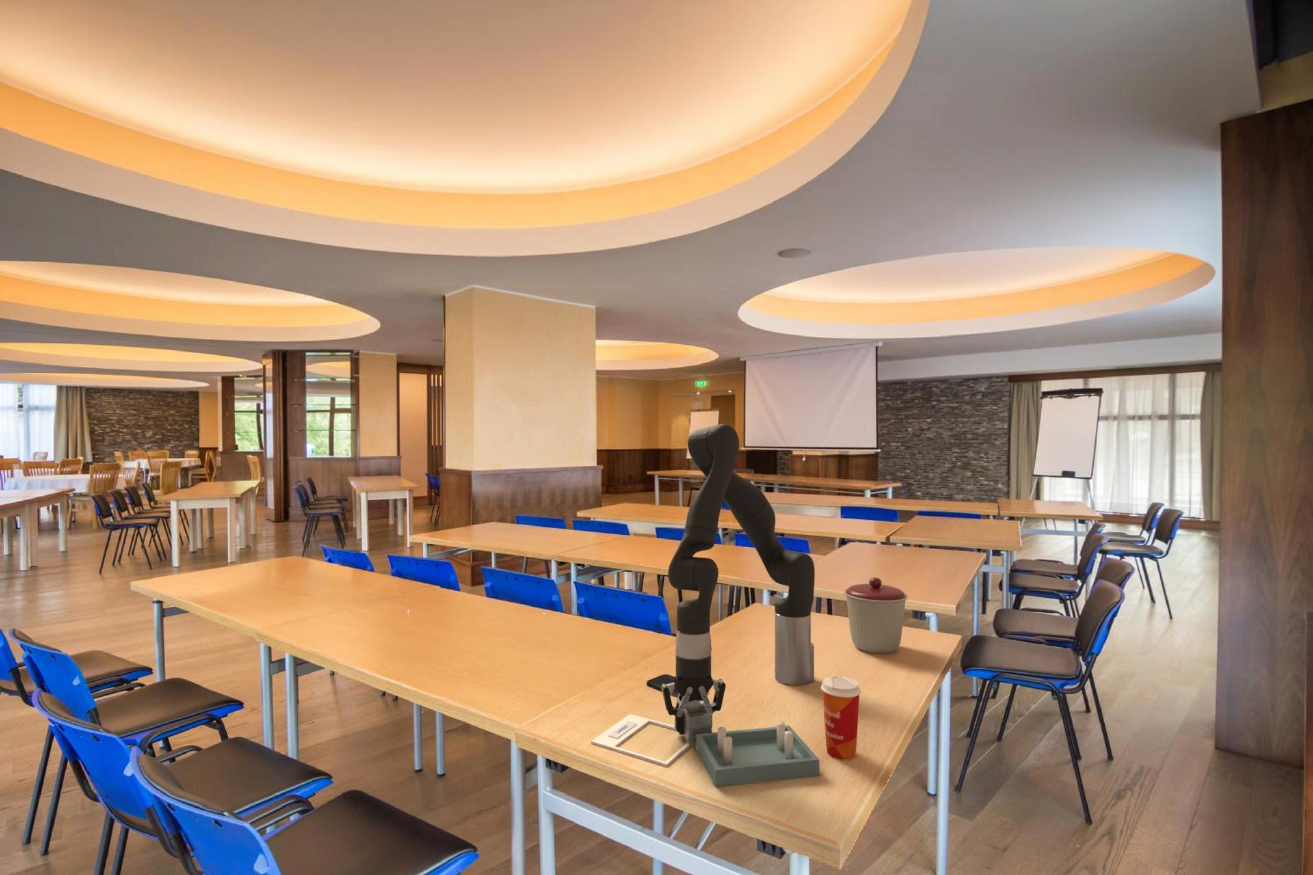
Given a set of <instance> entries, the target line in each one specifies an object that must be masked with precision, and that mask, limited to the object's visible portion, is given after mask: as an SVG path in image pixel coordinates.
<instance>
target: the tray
mask: <svg viewBox="0 0 1313 875" xmlns="http://www.w3.org/2000/svg"><path fill="white" fill-rule="evenodd" d="M695 750H696V752H697V754H698V756H699V758H700V759H701V761H702V763H703V766H704V768H705V769H706V772H707V774H708V775H709V777H710V779H711V781H712V784H713V785H714V787H715V788H720V787H728V786H737V785H745V784H746V785H747V784H755V783H765V782H773V781H782V780H793V779H801V778H810V777H818V776H820V758H819V757H818V756H817V755H816V754H815V753H814V752H813V750H812V749H811V748H810V747H809V746H808V744H806V743H805V741H803V739H802V738H801V737H800V736H799V734H797V732H795V729H793V728H792V727H791V726H790V725H786V723H785V722H784V721H783V722H782V721H777V722H776V726H769V727H760V728H759V727H758V728H750V729H739V730H738V729H737V730H728V731H727V729H726V727H723V726H720V727H717V732H716V731H715V732H712V733H704V734H696V746H695Z"/></svg>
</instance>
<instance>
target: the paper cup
mask: <svg viewBox="0 0 1313 875" xmlns="http://www.w3.org/2000/svg"><path fill="white" fill-rule="evenodd" d="M820 689H821V690H822V700H823V718H824V731H825V732H824V733H825V734H824V735H825V746H826V747H825V748H826V753H827V755H829V756H830V757H831V758H834V759H837V760H839V761H840V760H841V761H850V760H853V759H854V758H855V757H856V756H857V754H856V753H857V745H858V744H857V742H858V741H857V740H858V724H859V707H860V695H861V694H862V689H861V688H860V684H859V682H857V681H856V680H854V679H852V678H849V677H845V676H832V677H831V676H829V677H826V678H824V679H823V681H822V684H821V686H820Z"/></svg>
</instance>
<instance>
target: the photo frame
mask: <svg viewBox="0 0 1313 875" xmlns="http://www.w3.org/2000/svg"><path fill="white" fill-rule="evenodd" d="M648 724H651V725H655V726H659V727H662V728H666V729H670V730H672V731H673V730H674V731H676V732H677V730H676V728H675V725H673V724H668V723H665V722H661V721H658V720H653V719H650V718H646V717H642V716H639V715H636V714H632V713H630V714H628V715H627V716H625V717H623V718H622V719H621V720H620V721H618V722H617V723H615V724H613V726H611V727H610V728H608V729H607V730H605V731H603V732H602V733H600V734H599V735H597V737H595V738H593V739H592V740H591V743H590V744H592V745H596V746H598V747H602V748H605V749H609V750H610V751H615V752H617V753H620V754H624V755H626V756H631V757H634V758H637V759H641V760H644V761H647V762H650V763H653V764H655V765H656V764H657V765H660V766H662V767H665V768H666V767H669V766H670V765H672V763H673V762H674V761H675V760H676V759H677V758H678V757H680V756H681V755H682V754H683V753H685V751H686V750H687V749H688V748H690V747H691V746H690V744H688V742H687V743H686V742H685V744H684V745H683V746H682V747H681V748H679V749H678V750H677V751H676V752H675V753H674V754H673V755H672V756H670V757H669V758H668V759H667V760H666V761H664V760H661V759H658V758H654V757H652V756H648V755H645V754H641V753H637V752H635V751H631V750H628V749H624V748H621V747H619V746H620V745H621V744H623V743H624V742H626V740H628V739H630V738H631V737H632V736H633V735H635V734H636V733H638V732H639V731H640V730H642V729H643V728H644V727H647V725H648Z"/></svg>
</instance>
